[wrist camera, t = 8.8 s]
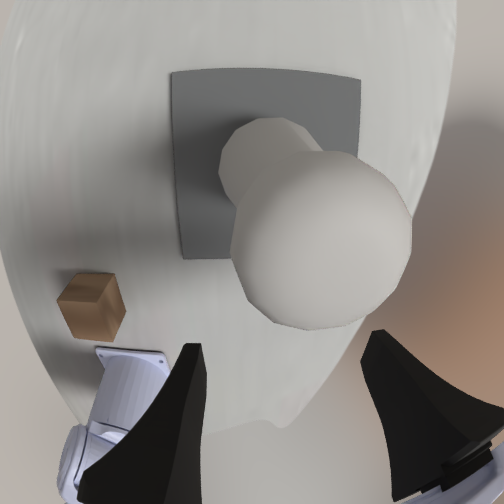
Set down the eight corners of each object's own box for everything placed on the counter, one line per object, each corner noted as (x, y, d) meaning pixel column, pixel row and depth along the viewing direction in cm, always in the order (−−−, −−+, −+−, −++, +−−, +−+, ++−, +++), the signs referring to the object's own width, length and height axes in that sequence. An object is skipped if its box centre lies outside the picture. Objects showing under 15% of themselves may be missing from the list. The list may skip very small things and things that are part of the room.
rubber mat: (342, 253, 21) (344, 255, 20) (184, 256, 20) (183, 259, 20) (358, 80, 14) (361, 79, 14) (173, 73, 14) (171, 72, 13)
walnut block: (126, 310, 22) (112, 342, 19) (90, 309, 22) (74, 337, 19) (114, 273, 20) (96, 302, 17) (77, 273, 20) (56, 300, 17)
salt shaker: (249, 219, 18) (270, 392, 7) (204, 146, 16) (125, 226, 4) (326, 179, 17) (456, 299, 6) (287, 102, 15) (416, 78, 3)
